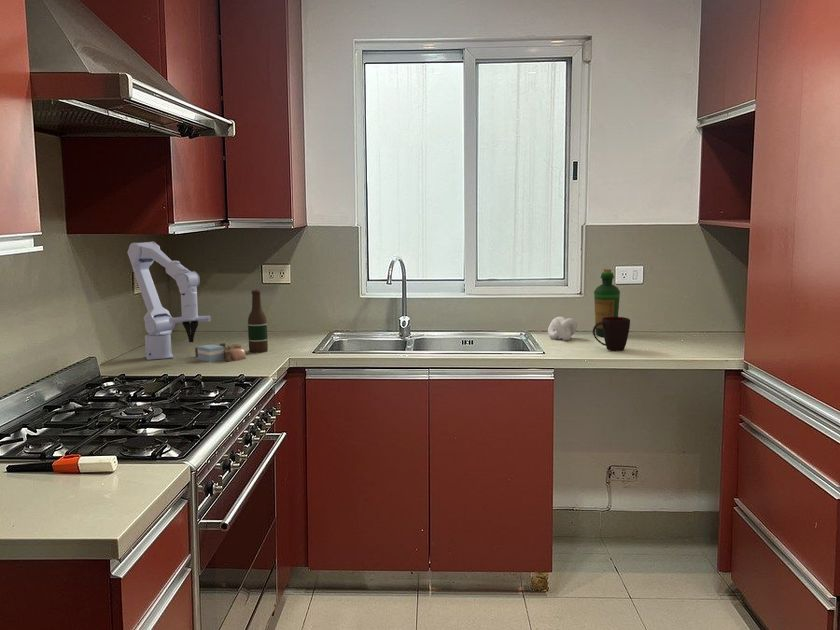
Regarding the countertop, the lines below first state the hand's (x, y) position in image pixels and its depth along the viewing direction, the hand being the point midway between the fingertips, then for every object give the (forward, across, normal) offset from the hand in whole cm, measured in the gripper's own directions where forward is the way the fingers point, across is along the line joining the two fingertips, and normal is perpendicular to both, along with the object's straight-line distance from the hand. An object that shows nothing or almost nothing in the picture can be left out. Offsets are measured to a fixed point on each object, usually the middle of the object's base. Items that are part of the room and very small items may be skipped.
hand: (191, 341), depth 296 cm
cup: (+6, +150, -46) cm, 157 cm away
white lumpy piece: (+6, +146, -16) cm, 147 cm away
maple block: (+7, +16, +5) cm, 18 cm away
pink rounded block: (+7, +16, -2) cm, 18 cm away
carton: (+7, +7, +1) cm, 10 cm away
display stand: (+7, +8, +1) cm, 11 cm away
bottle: (+6, +167, -18) cm, 168 cm away
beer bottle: (+7, +26, +10) cm, 29 cm away
